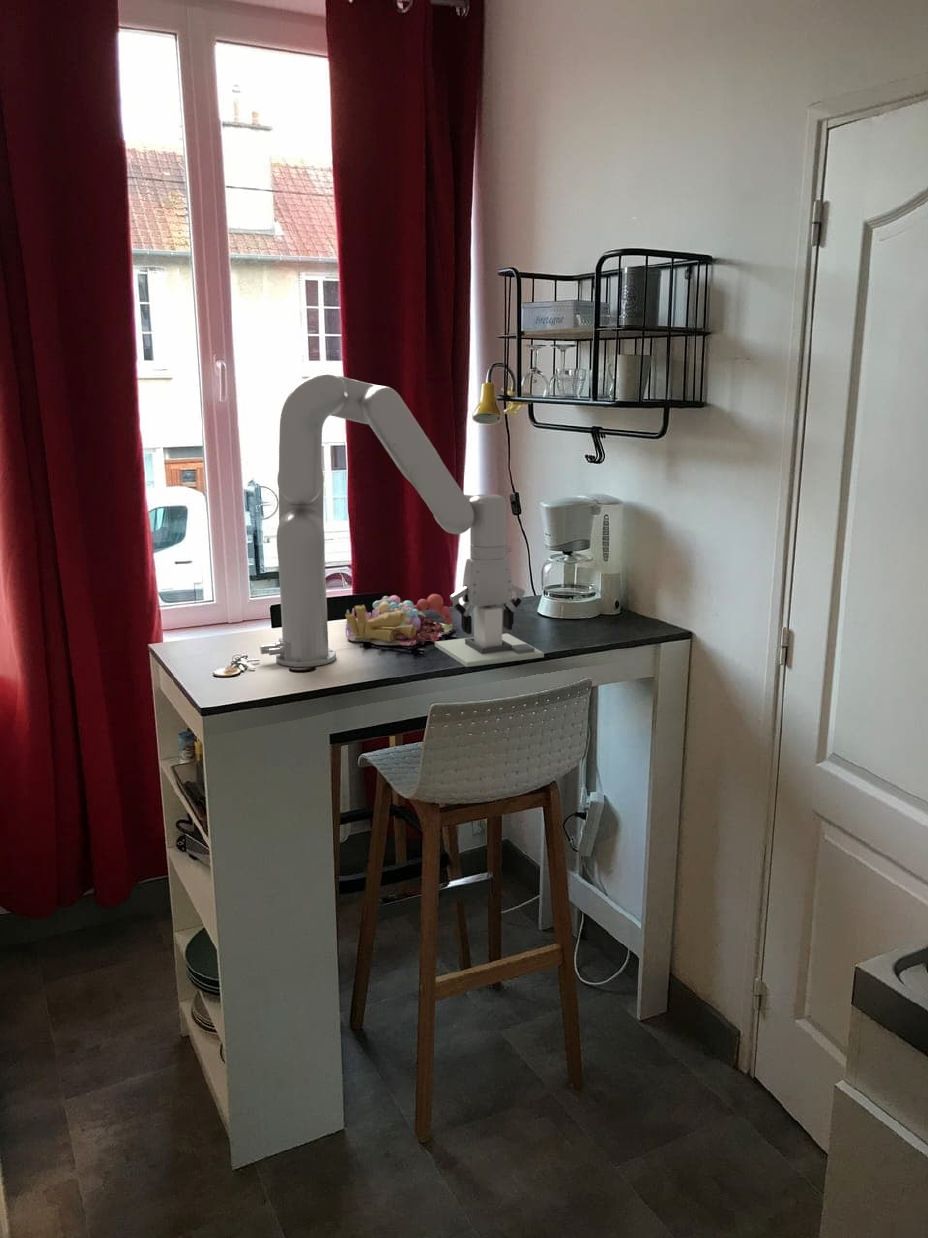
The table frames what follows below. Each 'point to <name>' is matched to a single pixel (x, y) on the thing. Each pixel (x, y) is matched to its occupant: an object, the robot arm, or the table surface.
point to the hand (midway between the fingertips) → (487, 630)
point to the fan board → (488, 651)
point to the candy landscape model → (398, 622)
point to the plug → (488, 626)
